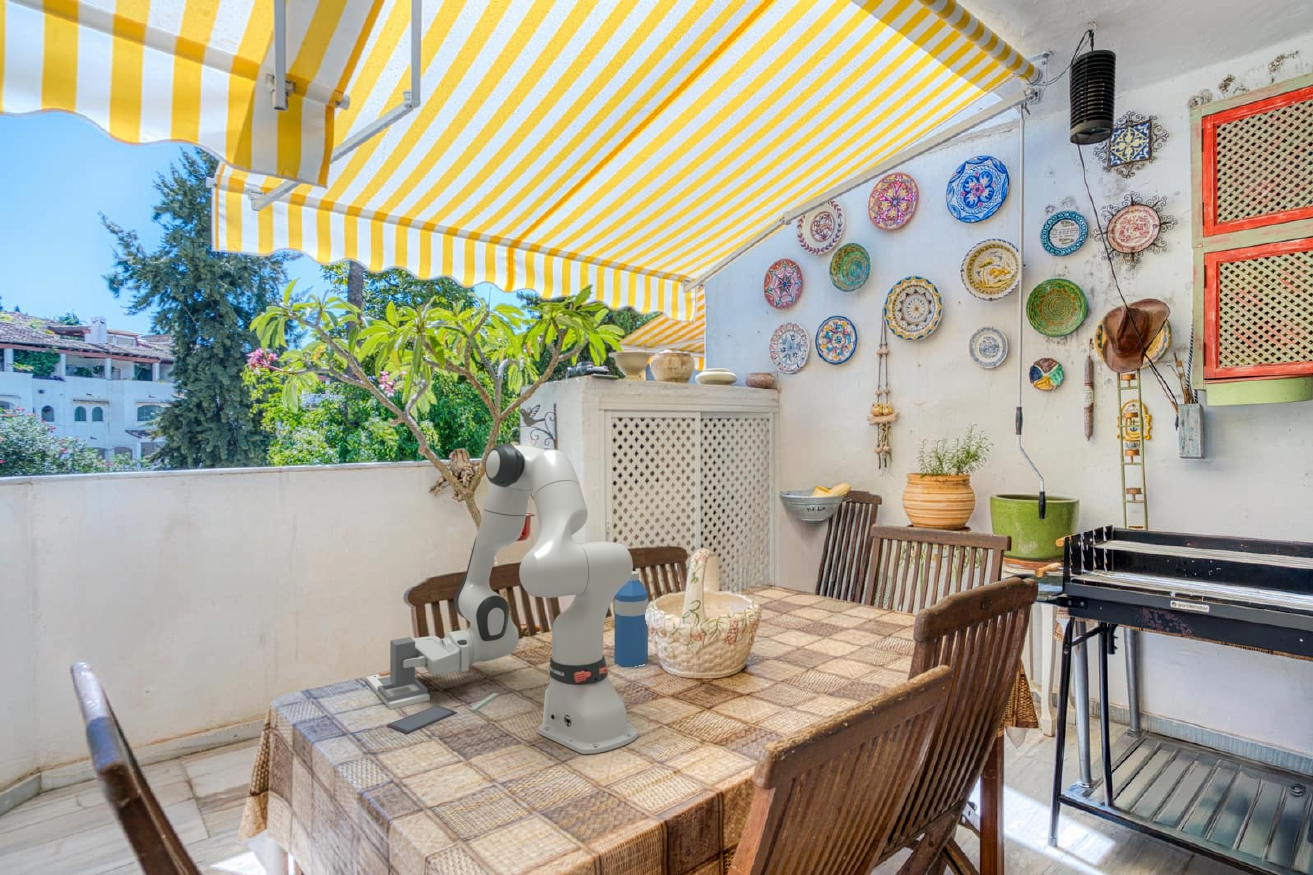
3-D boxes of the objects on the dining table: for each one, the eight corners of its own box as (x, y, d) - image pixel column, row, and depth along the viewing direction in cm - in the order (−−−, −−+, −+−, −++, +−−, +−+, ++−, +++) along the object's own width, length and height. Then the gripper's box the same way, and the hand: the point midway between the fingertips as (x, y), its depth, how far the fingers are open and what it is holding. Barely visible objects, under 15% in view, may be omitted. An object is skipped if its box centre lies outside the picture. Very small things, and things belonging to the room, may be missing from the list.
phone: (456, 716, 148) (456, 711, 148) (406, 737, 137) (406, 732, 137) (436, 709, 152) (437, 704, 152) (386, 729, 141) (386, 724, 141)
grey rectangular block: (415, 683, 157) (415, 641, 157) (395, 687, 154) (395, 645, 154) (409, 677, 161) (409, 637, 161) (390, 681, 158) (390, 640, 158)
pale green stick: (493, 696, 159) (493, 692, 159) (498, 697, 158) (498, 693, 158) (469, 713, 149) (469, 708, 149) (474, 713, 149) (474, 709, 149)
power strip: (429, 700, 155) (429, 690, 155) (390, 709, 150) (390, 699, 150) (402, 674, 173) (402, 665, 173) (365, 681, 167) (365, 673, 167)
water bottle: (633, 670, 176) (633, 577, 176) (607, 663, 181) (607, 573, 182) (654, 661, 183) (654, 571, 183) (629, 654, 189) (629, 568, 189)
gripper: (441, 627, 174) (386, 636, 165) (470, 646, 157) (411, 658, 149) (441, 651, 174) (386, 661, 165) (470, 673, 157) (411, 686, 149)
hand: (398, 660), depth 157 cm, fingers closed on grey rectangular block, 4 cm apart
